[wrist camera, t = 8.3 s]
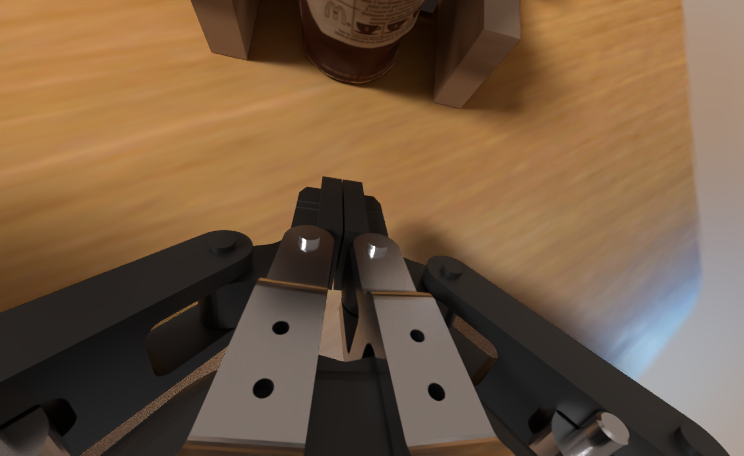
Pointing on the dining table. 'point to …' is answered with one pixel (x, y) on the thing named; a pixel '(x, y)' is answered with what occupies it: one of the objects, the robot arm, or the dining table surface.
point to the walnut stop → (453, 47)
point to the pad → (429, 5)
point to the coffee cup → (356, 35)
